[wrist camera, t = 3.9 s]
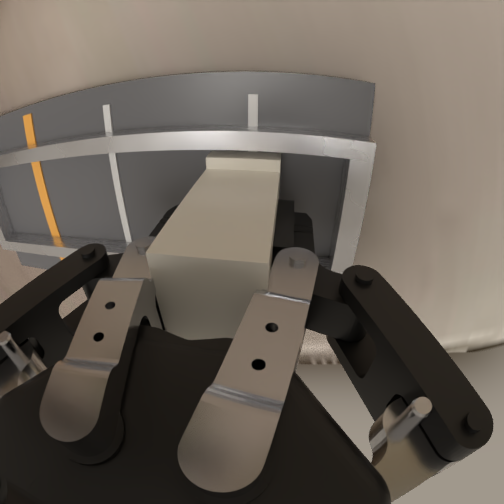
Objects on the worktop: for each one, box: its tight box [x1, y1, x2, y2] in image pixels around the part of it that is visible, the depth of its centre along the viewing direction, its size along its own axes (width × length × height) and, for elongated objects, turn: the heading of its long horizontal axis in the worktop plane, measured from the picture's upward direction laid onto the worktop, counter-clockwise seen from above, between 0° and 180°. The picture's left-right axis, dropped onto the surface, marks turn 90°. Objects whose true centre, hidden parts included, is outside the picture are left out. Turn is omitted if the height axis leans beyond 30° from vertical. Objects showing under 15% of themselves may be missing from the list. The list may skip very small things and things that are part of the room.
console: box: [0, 71, 377, 274], centre depth 15 cm, size 24×12×3 cm, turn 89°
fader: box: [146, 151, 281, 340], centre depth 11 cm, size 3×5×7 cm, turn 179°
